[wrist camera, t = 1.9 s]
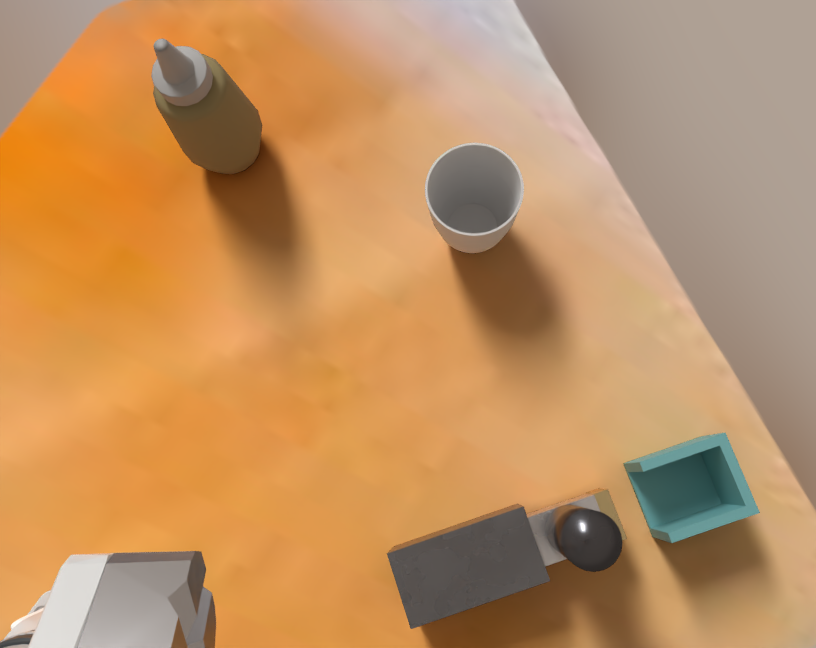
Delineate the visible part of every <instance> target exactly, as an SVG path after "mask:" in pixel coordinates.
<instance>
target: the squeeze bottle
mask: <svg viewBox="0 0 816 648" xmlns="http://www.w3.org/2000/svg"><path fill="white" fill-rule="evenodd" d="M154 49H155V52H156V56H157V60H156V62H155V63H154V65H153V70H152V79H153V83H154V92H153V94H154V98H155V102H156V105H157V107H158V109H159V111H160V113H161V114H162V116H163V118H164V119H165V121H166V123H167V125H168V126H169V128H170V130H171V131H172V133H173V135H174V137H175V138H176V140H177V142H178V143H179V145H180V147H181V148H182V150H183V152H184V153H185V154H186V155H187V156H188V158H189V159H190V160H191V161H192V162H193V163H194V164H196V165H198V166H201V167H203V168H205V169H207V170H210V171H214V172H218V173H222V174H235V173H238V172H241V171H244V170H246V169H247V168H248V167H249V166H250V165H252V164H253V163H254V161H255V160H256V158H257V156H258V154H259V150H260V141H261V132H262V123H261V120H260V116H259V113H258V110H257V109H256V108H255V107H254V106H253V104H252V103H251V102H250V101H249V99H248V98H247V97H246V96H245V94H244V93H243V92H242V91H241V90H240V88H239V87H238V86H237V85H236V83H235V82H234V81H233V80H232V79H231V77H230V76H229V75H228V74H227V72H226V71H225V70H224V69H223V68H222V67H221V65H220V64H219V63H218V62H217V61H216V60H215V59H213V58H210V57H208V56H206V55H204V54H200V52H199V51H197V50H195V49H193V48H191V47H186V46H177V47H174V46H173V45H172V44H171V43H169V42H168V41H167V40H165V39H159V40H157V41H156V42H155V43H154Z"/></svg>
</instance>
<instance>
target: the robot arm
mask: <svg viewBox="0 0 816 648" xmlns="http://www.w3.org/2000/svg"><path fill="white" fill-rule="evenodd" d="M205 572H206V567H205V564H204V560H203V557H202V553H201V552H199V551H185V552H140V553H107V554H79V555H70V557H69V558H68V559H67V560H66V562H65V563H64V564H63V565H62V566H61V568H60V570H59V572H58V575H57V577H56V580H55V582H54V585H53V587H52V589H51V590H50V591H48V592H46V593H44V594H43V595H42V596H41V597H40V598H39V600H38V601H37V602H36V604H35V605H34V607H33V608H32V609H31V611H30V612H29V613H28V615H27V616H24V617H22V618H20V619H18V620H17V621H15V622H14V623H13V624H12V625H11V631H10V632H9V633H8V635H7V636H6V637H5V638H4V639H3V640H2V641H0V648H215V635H216V616H215V605H214V601H213V596H212V593H211V592H210V591H209V590H207V589H206V588H204V587H203V583H204V578H205Z"/></svg>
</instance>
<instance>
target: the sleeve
mask: <svg viewBox="0 0 816 648" xmlns="http://www.w3.org/2000/svg"><path fill="white" fill-rule="evenodd" d="M387 555H388V558H389V562H390V565H391V568H392V571H393V574H394V577H395V580H396V584H397V587H398V590H399V593H400V596H401V599H402V603H403V606H404V609H405V612H406V615H407V618H408V622H409V625H410V628H411V629H413V628H416V627H418V626H421V625H424V624H427V623H430V622H433V621H436V620H439V619H442V618H444V617H447V616H450V615H453V614H456V613H459V612H462V611H465V610H468V609H470V608H473V607H476V606H479V605H482V604H485V603H488V602H491V601H494V600H497V599H499V598H502V597H505V596H508V595H511V594H514V593H517V592H520V591H523V590H525V589H528V588H531V587H534V586H537V585H540V584H543V583H546V582H549V581H550V579H549V576H548V573H547V570H546V568H545V565H544V562H543V559H542V557H541V554H540V551H539V548H538V545H537V543H536V540H535V537H534V534H533V532H532V529H531V526H530V523H529V521H528V518H527V515H526V512H525V509H524V507H523V506H521V505H519V504H515V505H512V506H510V507H507V508H504V509H501V510H498V511H495V512H492V513H489V514H486V515H484V516H481V517H478V518H475V519H472V520H469V521H466V522H463V523H460V524H458V525H455V526H452V527H449V528H446V529H443V530H440V531H437V532H434V533H432V534H429V535H426V536H423V537H420V538H417V539H414V540H411V541H408V542H405V543H403V544H400V545H397V546H394V547H393V548H392V549H391V550H390V551H389V552H388V553H387Z"/></svg>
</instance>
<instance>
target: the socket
mask: <svg viewBox="0 0 816 648" xmlns="http://www.w3.org/2000/svg"><path fill="white" fill-rule="evenodd" d="M623 464H624V466H625V469H626V471H627V474H628V476H629V479H630V481H631V484H632V486H633V489H634V491H635V494H636V496H637V499H638V502H639V504H640V507H641V509H642V512H643V514H644V517H645V519H646V522H647V524H648V527H649V529H650V532H651V534H652V537H654V538H657V539H661V540H664V541H667V542H670V543H674V542H677V541H679V540H682V539H685V538H688V537H691V536H694V535H697V534H700V533H703V532H706V531H708V530H711V529H714V528H717V527H720V526H723V525H726V524H729V523H732V522H734V521H737V520H740V519H743V518H746V517H749V516H752V515H755V514H758V513H760V512H759V510H758V508H757V505H756V503H755V501H754V498H753V496H752V494H751V491H750V489H749V487H748V484H747V482H746V480H745V477H744V475H743V473H742V470H741V468H740V466H739V463H738V461H737V459H736V456H735V454H734V452H733V449H732V447H731V445H730V442H729V440H728V438H727V435H726V433H719V434H713V435H707V436H701V437H698V438H696V439H693V440H690V441H687V442H684V443H681V444H678V445H675V446H672V447H669V448H667V449H664V450H661V451H658V452H655V453H652V454H649V455H646V456H643V457H641V458H638V459H635V460H632V461H629V462H626V463H623Z"/></svg>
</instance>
